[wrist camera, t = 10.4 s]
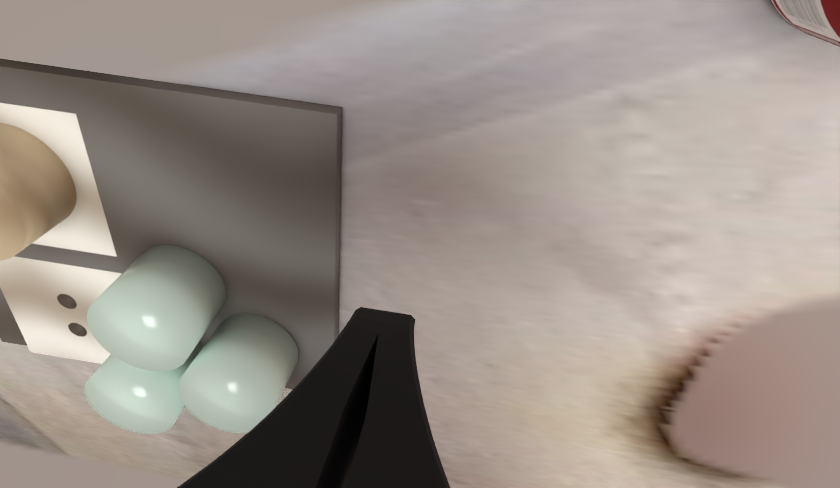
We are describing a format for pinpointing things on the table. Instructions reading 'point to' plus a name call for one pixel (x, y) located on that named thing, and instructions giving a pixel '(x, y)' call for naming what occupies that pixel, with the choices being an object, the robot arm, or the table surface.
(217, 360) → the pale green dome
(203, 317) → the mint cylinder
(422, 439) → the robot arm
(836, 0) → the soda can
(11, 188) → the beige rounded lump
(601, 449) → the table surface
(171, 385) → the mint rounded block
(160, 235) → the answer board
